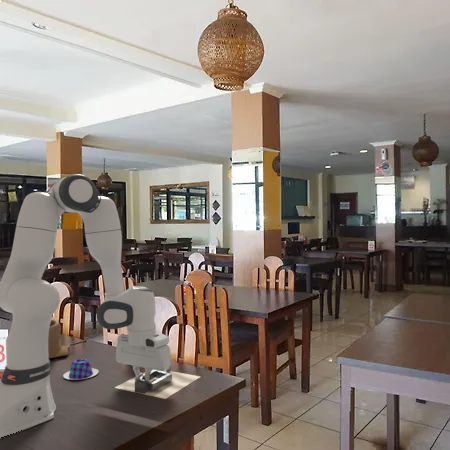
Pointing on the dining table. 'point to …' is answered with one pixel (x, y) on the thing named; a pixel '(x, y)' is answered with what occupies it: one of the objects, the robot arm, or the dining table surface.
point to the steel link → (162, 380)
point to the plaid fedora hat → (80, 370)
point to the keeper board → (164, 391)
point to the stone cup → (56, 341)
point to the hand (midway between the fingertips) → (142, 380)
